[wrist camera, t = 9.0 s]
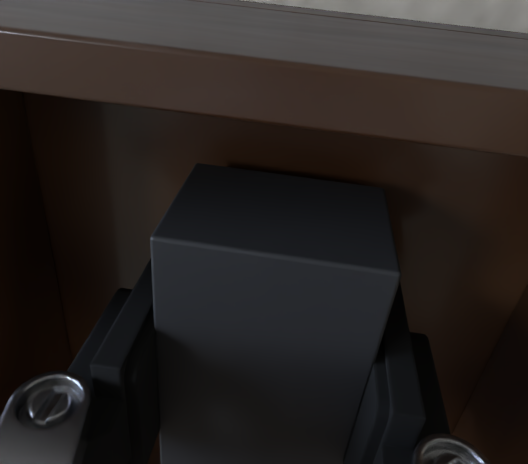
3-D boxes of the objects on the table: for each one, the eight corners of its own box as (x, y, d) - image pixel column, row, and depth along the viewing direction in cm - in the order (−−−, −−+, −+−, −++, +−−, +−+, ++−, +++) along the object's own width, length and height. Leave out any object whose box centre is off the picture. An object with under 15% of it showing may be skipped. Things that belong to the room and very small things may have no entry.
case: (-12, -29, 10) (-250, -4, 6) (661, 48, 9) (919, 138, 5) (82, 443, 19) (13, 582, 15) (426, 503, 18) (452, 666, 14)
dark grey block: (195, 161, 10) (148, 236, 7) (385, 186, 10) (403, 273, 7) (192, 383, 14) (160, 484, 11) (329, 406, 14) (329, 513, 11)
